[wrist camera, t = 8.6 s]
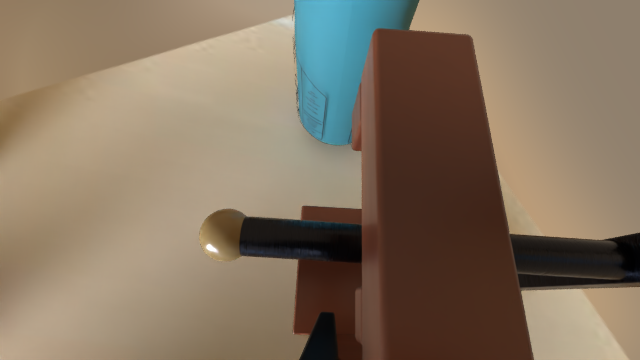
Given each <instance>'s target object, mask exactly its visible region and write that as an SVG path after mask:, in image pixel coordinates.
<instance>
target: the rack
mask: <svg viewBox="0 0 640 360" xmlns="http://www.w3.org/2000/svg"><path fill="white" fill-rule="evenodd" d="M510 238H511V243H512V248H513V254H514V259H515V264H516V269H517V274H518V280H519V285H520V290H521V291H524V290H556V289H588V288H618V287H640V233H636V234H631V235H625V236H620V237H615V238H610V239H605V240H590V239H575V238H560V237H546V236H531V235H516V234H510ZM199 240H200V245H201V247H202V249H203V251H204V252H205V253H206V254H207V255H208V256H209V257H211V258H212V259H214V260H217V261H223V262H228V261H233V260H236V259H238V258H240V257H241V256H251V257H267V258H282V259H298V260H314V261H329V262H345V263H361V264H362V224H352V223H337V222H322V221H307V220H293V219H278V218H263V217H248V216H246V215H244V214H243V213H242V212H240V211H237V210H234V209H222V210H218V211H216V212H214V213H212V214H211V215H209V216H208V217H207V218H206V219H205V221H204V222H203V224H202V226H201V229H200V233H199Z"/></svg>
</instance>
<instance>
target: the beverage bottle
mask: <svg viewBox="0 0 640 360" xmlns="http://www.w3.org/2000/svg"><path fill="white" fill-rule="evenodd" d="M418 3H419V0H294V5H295V7H294V8H295V35H294V37H295V42H294V43H296V44H295V45H296V50H295V51H296V52H295V53H296V62H297V76H296V77H297V80H298V87H297V90H296V91H298V92H297V93H298V98H297V99H299V109H298V110H297V111H299V113H298V112H297V113H298V114H300V118H301V121H302V123H303V125H304V128H305V129H307V131H308V132H309V133H310V134H311V135H312V136H313V137H315V138H316V139H318V140H320V141H321V142H324V143H327V144H331V145H346V144H350V143H352V112H353V108H354V104H355V100H356V96H357V92H358V88H359V84H360V83H361V77H362V73H363V69H364V65H365V61H366V57H367V53H368V49H369V45H370V41H371V37H372V34H373V32H374V31H375V29H377V28H386V29H399V30H409V27H410V24H411V21H412V19H413V16H414V13H415V11H416V8H417V5H418ZM292 19H293V17H292ZM292 38H293V37H292ZM293 39H294V38H293ZM293 45H294V44H293ZM293 49H295V47H293ZM295 53H294V52H293V54H294V55H295ZM294 62H295V61H294ZM295 75H296V74H295ZM295 82H296V81H295ZM295 86H297V85H296V84H295ZM296 95H297V94H296ZM297 99H296V101H297V102H298V100H297ZM297 108H298V107H297ZM298 117H299V116H298ZM299 120H300V119H299ZM301 121H300V122H301ZM302 123H301V124H302Z"/></svg>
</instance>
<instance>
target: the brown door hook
mask: <svg viewBox="0 0 640 360" xmlns="http://www.w3.org/2000/svg"><path fill="white" fill-rule="evenodd" d="M352 149H353V150H355V151H362V209H352V208H335V207H318V206H302V213H301V220H307V221H322V222H337V223H352V224H362V264H361V263H345V262H329V261H314V260H298V267H297V281H296V295H295V308H294V322H293V334H298V335H310V334H311V331H312V329H313V327H314V325H315V322H316V320H317V318H318V315H319V313H320V312H333V313H334V314H335V322H336V333H337V344H338V360H534V358H533V353H532V348H531V342H530V337H529V332H528V327H527V321H526V316H525V311H524V306H523V301H522V295H521V290H520V285H519V280H518V274H517V269H516V264H515V259H514V254H513V248H512V243H511V238H510V233H509V227H508V222H507V217H506V212H505V207H504V201H503V196H502V191H501V186H500V180H499V175H498V170H497V165H496V160H495V154H494V149H493V144H492V139H491V133H490V128H489V123H488V118H487V113H486V107H485V102H484V97H483V92H482V86H481V81H480V77H479V71H478V65H477V60H476V55H475V50H474V45H473V39H472V37H471V36H469V35H466V34H452V33H439V32H426V31H412V30H399V29H386V28H377V29H375V31H374V32H373V34H372V37H371V41H370V45H369V49H368V53H367V57H366V61H365V65H364V69H363V73H362V77H361V83H360V84H359V88H358V92H357V96H356V100H355V104H354V108H353V112H352Z"/></svg>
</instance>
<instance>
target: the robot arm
mask: <svg viewBox="0 0 640 360" xmlns="http://www.w3.org/2000/svg"><path fill="white" fill-rule="evenodd" d="M299 360H338V344H337V333H336V322H335V314H334V313H333V312H320V313H319V315H318V318H317V320H316V322H315V325H314V327H313V329H312V331H311V334H310V336H309V338H308V340H307V343H306V345H305V347H304V350H303V352H302V354H301V356H300V359H299Z"/></svg>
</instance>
